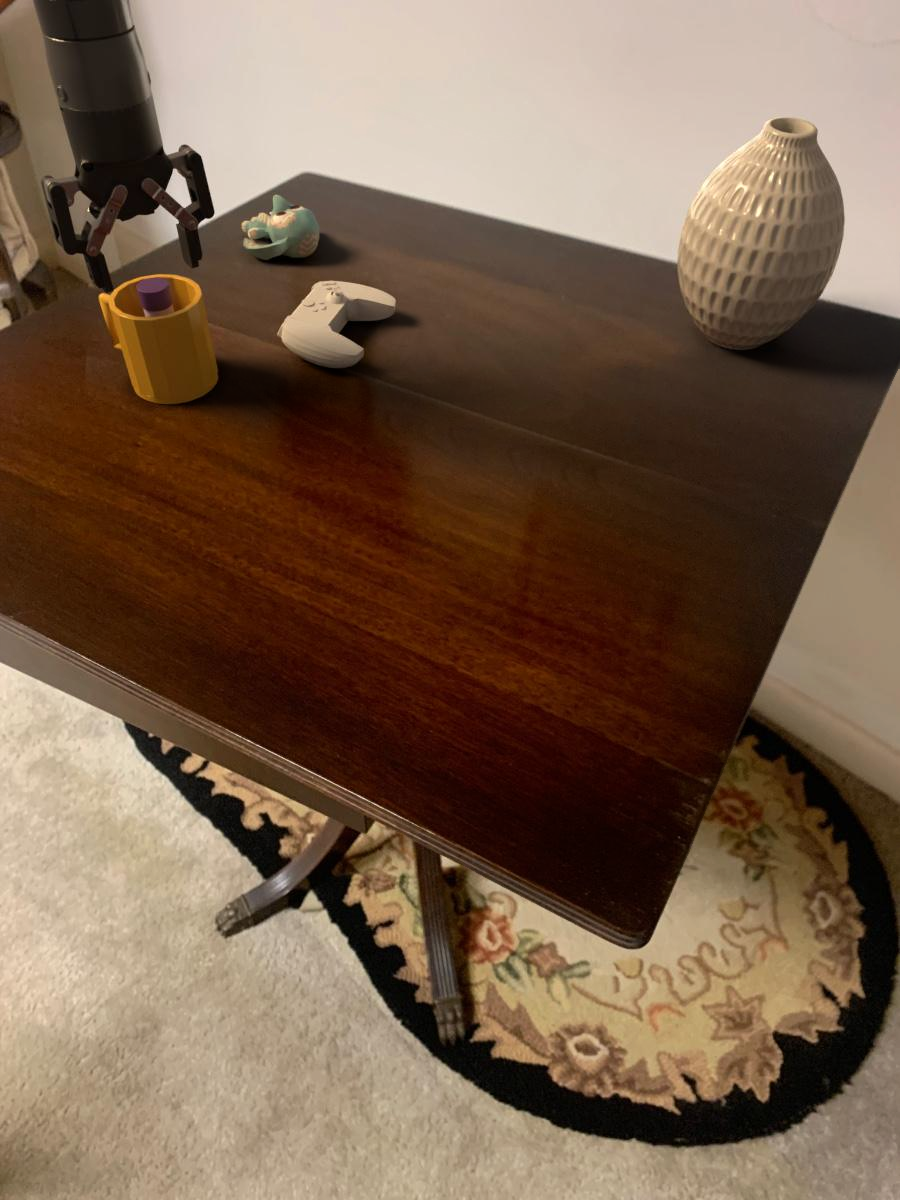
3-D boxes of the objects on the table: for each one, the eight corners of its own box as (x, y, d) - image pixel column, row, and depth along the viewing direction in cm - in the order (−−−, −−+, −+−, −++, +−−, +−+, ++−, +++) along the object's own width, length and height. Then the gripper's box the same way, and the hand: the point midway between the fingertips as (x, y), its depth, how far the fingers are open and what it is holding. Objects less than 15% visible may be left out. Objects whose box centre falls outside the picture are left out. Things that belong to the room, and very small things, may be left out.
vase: (637, 309, 104) (676, 104, 88) (758, 290, 108) (816, 89, 92) (704, 384, 94) (762, 168, 78) (835, 360, 98) (917, 148, 81)
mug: (234, 369, 95) (219, 286, 88) (185, 413, 89) (164, 328, 82) (145, 342, 98) (123, 260, 91) (92, 383, 92) (64, 299, 85)
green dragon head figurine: (270, 177, 115) (335, 184, 108) (284, 233, 120) (347, 243, 113) (206, 204, 109) (270, 213, 103) (224, 262, 114) (286, 274, 107)
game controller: (357, 355, 91) (267, 320, 91) (351, 389, 94) (265, 355, 95) (404, 289, 100) (322, 258, 101) (397, 322, 104) (318, 291, 104)
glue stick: (158, 382, 92) (134, 293, 84) (162, 366, 94) (138, 277, 86) (187, 381, 92) (166, 292, 84) (190, 365, 94) (170, 276, 86)
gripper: (167, 63, 78) (202, 243, 90) (2, 93, 72) (63, 281, 84) (203, 88, 74) (235, 273, 85) (31, 122, 68) (91, 315, 80)
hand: (150, 276), depth 85 cm, fingers open, 8 cm apart
